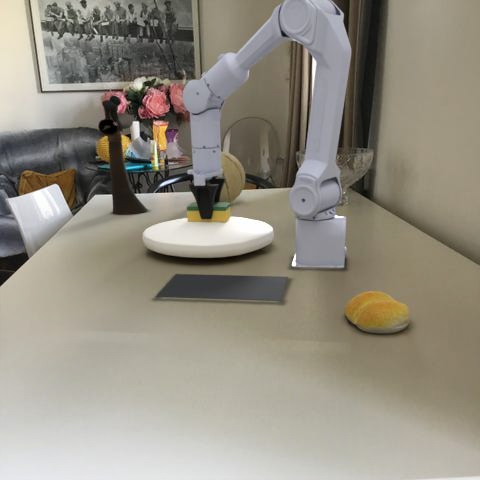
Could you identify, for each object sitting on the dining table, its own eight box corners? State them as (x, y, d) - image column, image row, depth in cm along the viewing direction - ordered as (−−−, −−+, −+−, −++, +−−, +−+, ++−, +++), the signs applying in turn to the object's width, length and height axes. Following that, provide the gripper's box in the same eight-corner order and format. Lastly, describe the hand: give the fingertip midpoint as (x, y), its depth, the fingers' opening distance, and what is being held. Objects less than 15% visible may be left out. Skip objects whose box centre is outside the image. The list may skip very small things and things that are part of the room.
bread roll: (370, 340, 73) (372, 311, 72) (336, 316, 81) (337, 290, 80) (423, 329, 76) (426, 301, 74) (385, 307, 84) (387, 281, 82)
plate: (168, 211, 131) (282, 214, 126) (169, 239, 133) (281, 243, 128) (119, 226, 105) (261, 229, 99) (121, 260, 106) (261, 266, 101)
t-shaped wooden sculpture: (120, 202, 171) (108, 95, 160) (152, 200, 171) (142, 94, 160) (104, 224, 142) (88, 96, 131) (142, 223, 142) (129, 95, 131)
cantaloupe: (256, 202, 164) (255, 148, 158) (220, 210, 154) (217, 153, 148) (220, 197, 173) (218, 146, 168) (184, 204, 164) (180, 151, 158)
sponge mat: (288, 279, 97) (288, 276, 97) (280, 303, 87) (280, 300, 86) (176, 276, 101) (175, 273, 101) (155, 299, 90) (155, 296, 90)
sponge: (230, 216, 118) (230, 202, 117) (226, 221, 113) (225, 206, 112) (193, 216, 119) (192, 202, 118) (187, 221, 115) (186, 206, 114)
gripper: (195, 143, 118) (199, 208, 123) (176, 151, 105) (181, 223, 110) (228, 143, 117) (230, 208, 122) (213, 150, 104) (216, 224, 109)
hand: (209, 216), depth 116 cm, fingers closed on sponge, 5 cm apart
